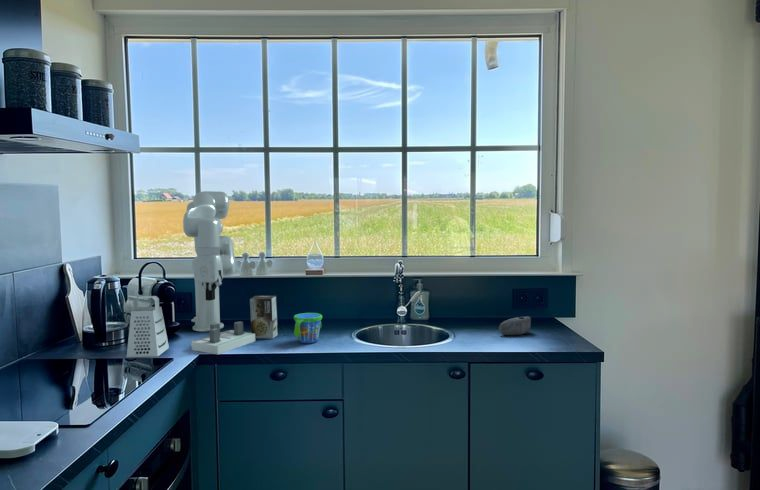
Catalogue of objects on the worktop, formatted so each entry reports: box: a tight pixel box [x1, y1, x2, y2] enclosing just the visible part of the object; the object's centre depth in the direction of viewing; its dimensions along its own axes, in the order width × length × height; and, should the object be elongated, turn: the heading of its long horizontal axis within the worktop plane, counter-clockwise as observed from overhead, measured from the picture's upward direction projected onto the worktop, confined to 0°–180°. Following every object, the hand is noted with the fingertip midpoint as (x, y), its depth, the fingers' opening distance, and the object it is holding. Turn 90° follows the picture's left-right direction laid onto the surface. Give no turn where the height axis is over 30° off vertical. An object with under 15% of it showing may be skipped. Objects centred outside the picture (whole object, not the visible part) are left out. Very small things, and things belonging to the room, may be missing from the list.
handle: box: [208, 328, 221, 343], centre depth 172 cm, size 3×3×4 cm
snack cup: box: [293, 312, 323, 344], centre depth 183 cm, size 16×10×10 cm
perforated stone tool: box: [498, 315, 532, 336], centre depth 191 cm, size 15×5×7 cm, turn 106°
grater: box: [126, 295, 170, 358], centre depth 170 cm, size 10×10×20 cm
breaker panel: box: [191, 329, 256, 355], centre depth 178 cm, size 13×19×3 cm
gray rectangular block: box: [233, 321, 245, 335], centre depth 183 cm, size 3×3×4 cm
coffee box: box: [249, 295, 278, 339], centre depth 190 cm, size 9×6×16 cm
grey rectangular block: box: [208, 323, 221, 337], centre depth 180 cm, size 3×3×4 cm
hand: (210, 299), depth 181 cm, fingers closed
